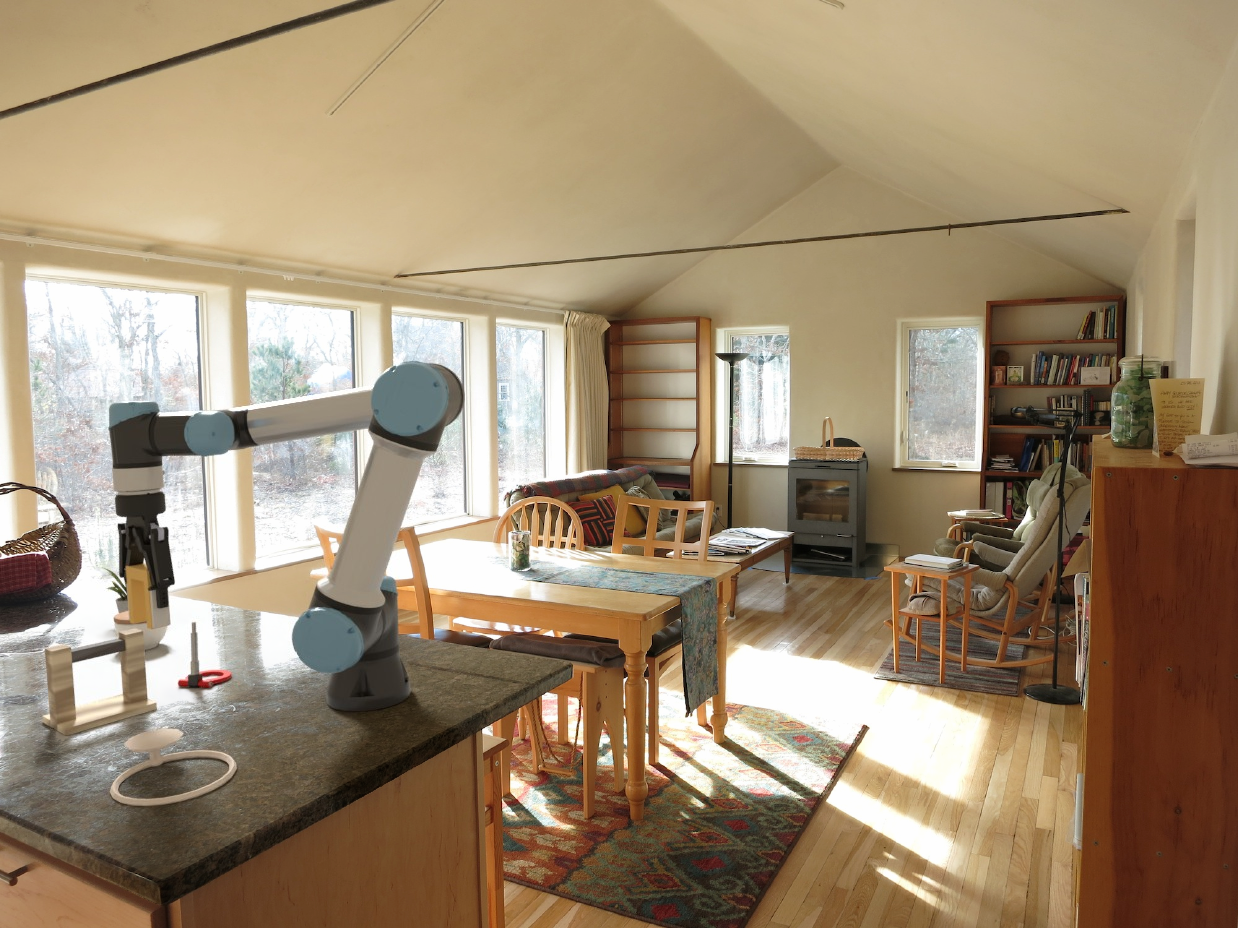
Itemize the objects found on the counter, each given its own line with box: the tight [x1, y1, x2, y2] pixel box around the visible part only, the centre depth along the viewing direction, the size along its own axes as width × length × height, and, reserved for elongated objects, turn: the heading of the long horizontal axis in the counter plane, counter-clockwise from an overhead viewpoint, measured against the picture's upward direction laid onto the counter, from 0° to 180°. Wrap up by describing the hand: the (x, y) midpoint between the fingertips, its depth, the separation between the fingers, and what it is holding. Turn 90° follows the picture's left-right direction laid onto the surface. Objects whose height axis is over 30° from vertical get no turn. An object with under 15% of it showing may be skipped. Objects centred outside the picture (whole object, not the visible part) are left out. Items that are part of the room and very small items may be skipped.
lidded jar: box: [113, 611, 168, 651], centre depth 199 cm, size 11×11×9 cm
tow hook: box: [177, 621, 232, 689], centre depth 175 cm, size 8×13×9 cm
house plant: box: [100, 566, 128, 614], centre depth 219 cm, size 14×14×16 cm
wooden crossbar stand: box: [41, 628, 158, 736], centre depth 156 cm, size 10×15×14 cm, turn 142°
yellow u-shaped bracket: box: [126, 562, 170, 629], centre depth 151 cm, size 8×3×10 cm, turn 52°
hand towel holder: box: [109, 728, 238, 807], centre depth 132 cm, size 17×4×21 cm
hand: (149, 622), depth 151 cm, fingers closed on yellow u-shaped bracket, 8 cm apart
